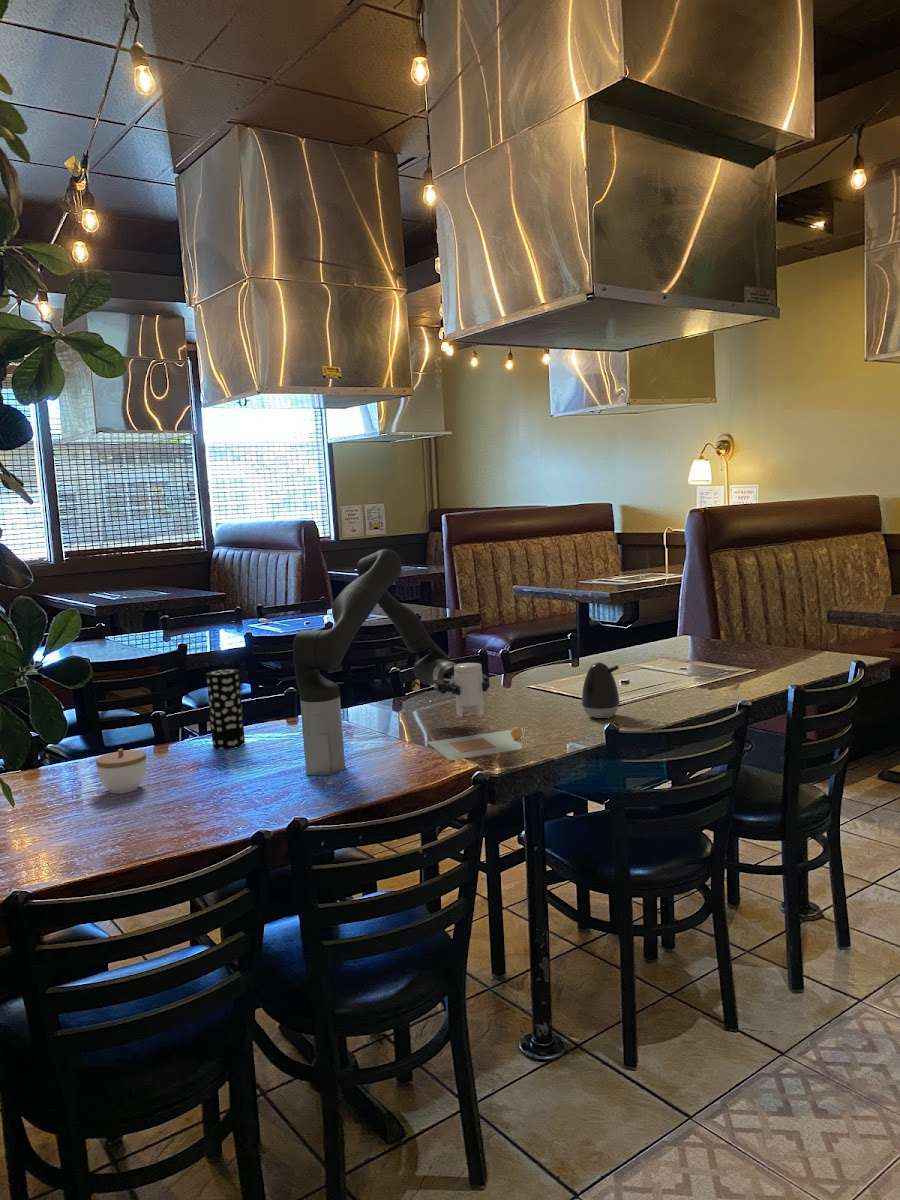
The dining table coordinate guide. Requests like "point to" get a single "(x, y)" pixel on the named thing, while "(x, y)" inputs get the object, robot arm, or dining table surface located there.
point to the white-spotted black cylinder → (225, 708)
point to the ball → (516, 733)
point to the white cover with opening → (469, 688)
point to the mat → (477, 745)
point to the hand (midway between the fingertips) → (472, 689)
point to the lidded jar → (122, 770)
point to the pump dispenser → (600, 692)
